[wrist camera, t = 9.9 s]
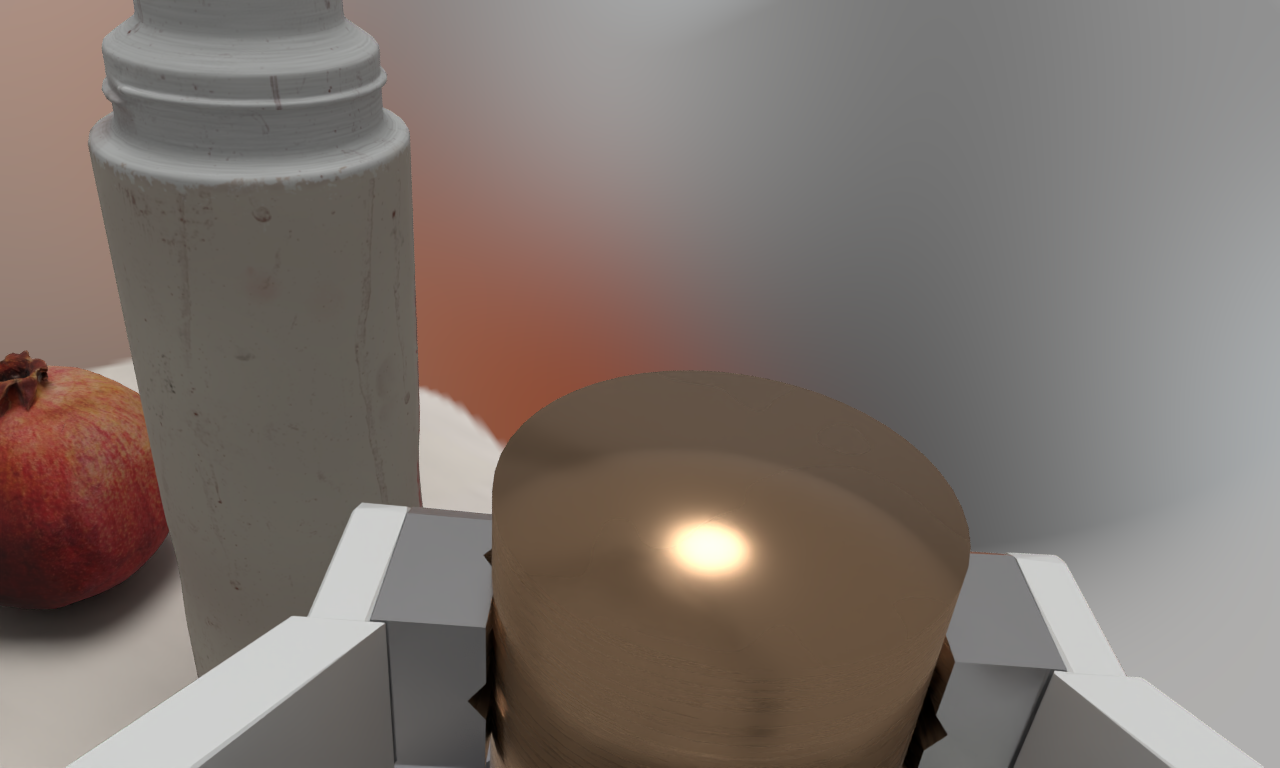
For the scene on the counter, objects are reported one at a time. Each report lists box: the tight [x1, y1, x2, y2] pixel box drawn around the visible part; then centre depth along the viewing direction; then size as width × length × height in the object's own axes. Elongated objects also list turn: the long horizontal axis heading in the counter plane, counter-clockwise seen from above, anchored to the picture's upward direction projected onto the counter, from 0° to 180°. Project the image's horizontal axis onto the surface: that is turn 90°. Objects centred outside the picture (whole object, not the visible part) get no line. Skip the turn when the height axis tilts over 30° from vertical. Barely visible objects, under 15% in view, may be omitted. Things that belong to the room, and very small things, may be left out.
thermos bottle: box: [88, 0, 423, 678], centre depth 30 cm, size 8×8×28 cm
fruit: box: [0, 350, 169, 610], centre depth 40 cm, size 11×10×10 cm
